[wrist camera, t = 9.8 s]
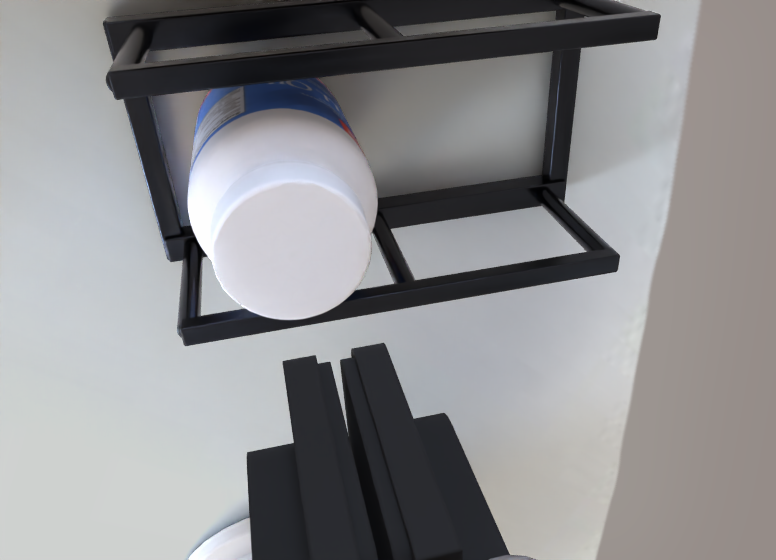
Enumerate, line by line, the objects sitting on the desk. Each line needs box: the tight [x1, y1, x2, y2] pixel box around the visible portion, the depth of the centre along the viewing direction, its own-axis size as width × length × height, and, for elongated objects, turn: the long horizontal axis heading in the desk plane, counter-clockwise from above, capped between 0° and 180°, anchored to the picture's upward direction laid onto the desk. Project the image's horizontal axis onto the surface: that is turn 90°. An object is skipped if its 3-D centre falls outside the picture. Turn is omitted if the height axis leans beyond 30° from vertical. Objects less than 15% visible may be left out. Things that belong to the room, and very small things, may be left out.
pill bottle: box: [188, 78, 378, 320], centre depth 20 cm, size 6×5×10 cm
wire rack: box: [103, 0, 661, 346], centre depth 22 cm, size 9×17×7 cm, turn 93°
